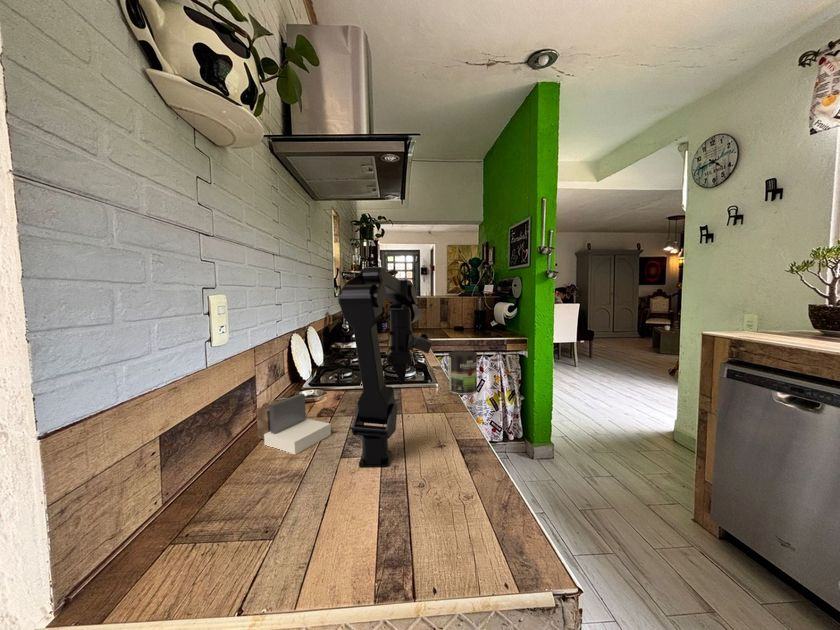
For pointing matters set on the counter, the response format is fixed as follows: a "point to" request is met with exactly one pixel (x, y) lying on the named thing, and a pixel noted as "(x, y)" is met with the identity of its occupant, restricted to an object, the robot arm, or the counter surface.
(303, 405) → the grey piece
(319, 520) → the counter surface
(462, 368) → the transparent upright cylinder
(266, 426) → the block
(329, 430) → the door block
